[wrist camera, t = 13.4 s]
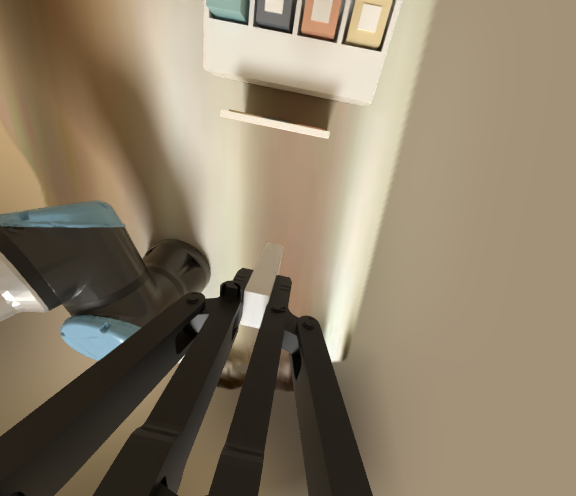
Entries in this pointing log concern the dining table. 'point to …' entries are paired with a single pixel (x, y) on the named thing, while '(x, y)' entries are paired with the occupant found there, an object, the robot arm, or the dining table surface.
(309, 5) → the key
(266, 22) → the key
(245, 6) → the key
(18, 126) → the dining table surface
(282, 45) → the keypad
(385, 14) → the key
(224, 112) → the placard
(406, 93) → the dining table surface
